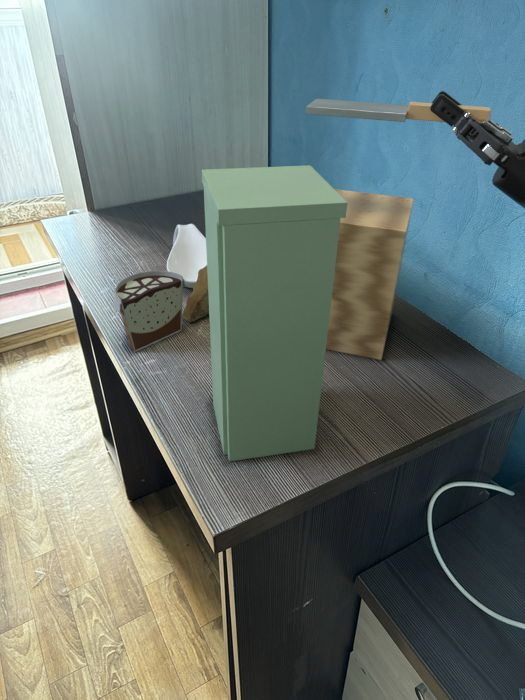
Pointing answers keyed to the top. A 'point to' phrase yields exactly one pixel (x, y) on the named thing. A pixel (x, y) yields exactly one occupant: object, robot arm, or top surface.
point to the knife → (385, 110)
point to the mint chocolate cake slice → (150, 306)
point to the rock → (198, 298)
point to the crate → (367, 271)
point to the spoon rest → (187, 253)
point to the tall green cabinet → (269, 303)
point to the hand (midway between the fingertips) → (435, 99)
